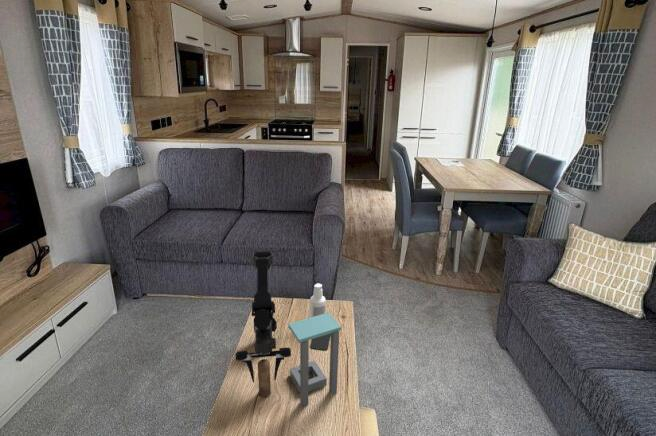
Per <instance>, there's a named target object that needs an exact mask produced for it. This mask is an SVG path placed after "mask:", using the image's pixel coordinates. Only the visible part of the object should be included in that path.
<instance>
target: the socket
mask: <svg viewBox="0 0 656 436" xmlns="http://www.w3.org/2000/svg"><path fill="white" fill-rule="evenodd" d="M308 374H312V376H314V377H312V378H310V379H309V378H308V393H309V392H311V391H313V390H317V389H319V388H322V387H324V386H327V383H328V381H327V379H328V378H327V376H326V375H325V374H324V373H323V371H322V369H321V368H320V366H319V365H318V364H317V362H316V361H315V360H312V361H308ZM289 376H290V378H291V380H292V381H293V383H294V385H295V388H297V391H298V392H299V393H300V365H296V366H293V367H291V368H289Z"/></svg>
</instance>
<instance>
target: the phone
mask: <svg viewBox="0 0 656 436" xmlns="http://www.w3.org/2000/svg"><path fill="white" fill-rule="evenodd" d="M310 341H311V342H310V345H309V348H310V349H311V350H317V351H328V350H329V345H330V342H331V333H330V334H327V335H324V336H320V337H317V338H314V339H311V340H310Z"/></svg>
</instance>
